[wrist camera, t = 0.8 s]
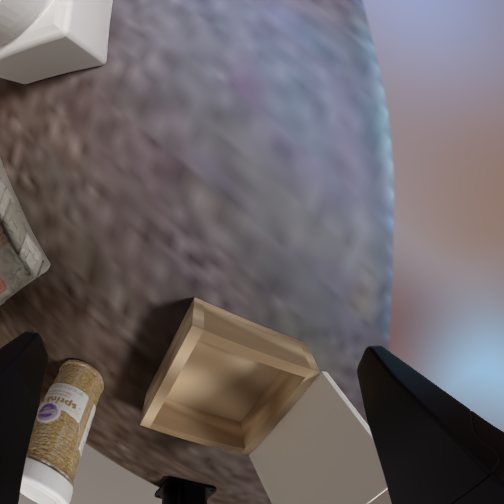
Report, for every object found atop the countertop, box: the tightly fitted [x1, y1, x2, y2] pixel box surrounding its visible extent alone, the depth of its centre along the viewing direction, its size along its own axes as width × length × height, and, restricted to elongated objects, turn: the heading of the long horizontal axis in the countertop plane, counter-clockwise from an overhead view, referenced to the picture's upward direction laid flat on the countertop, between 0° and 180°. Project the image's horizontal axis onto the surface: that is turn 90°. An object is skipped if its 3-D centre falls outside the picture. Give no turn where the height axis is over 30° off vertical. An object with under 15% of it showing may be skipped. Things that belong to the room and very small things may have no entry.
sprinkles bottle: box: [20, 359, 104, 504], centre depth 18 cm, size 5×5×14 cm
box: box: [140, 297, 320, 455], centre depth 23 cm, size 11×10×4 cm
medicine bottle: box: [0, 0, 113, 84], centre depth 10 cm, size 7×7×12 cm
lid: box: [249, 372, 388, 504], centre depth 19 cm, size 11×10×1 cm
